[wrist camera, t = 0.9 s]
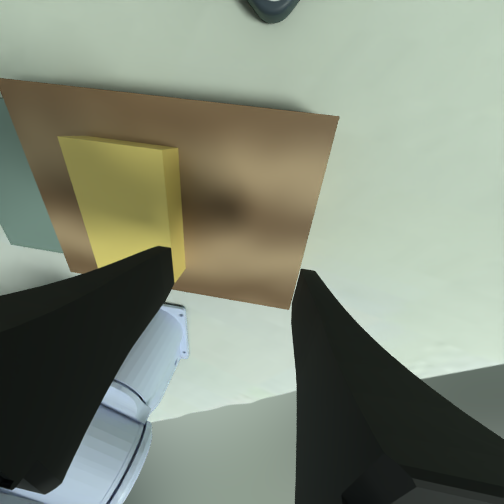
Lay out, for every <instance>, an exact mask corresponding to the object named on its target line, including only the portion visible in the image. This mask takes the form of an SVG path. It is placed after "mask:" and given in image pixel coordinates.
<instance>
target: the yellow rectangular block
mask: <svg viewBox="0 0 504 504" xmlns="http://www.w3.org/2000/svg"><path fill="white" fill-rule="evenodd" d="M57 137H58V140H59V144H60V147H61V150H62V153H63V156H64V160H65V163H66V166H67V169H68V173H69V176H70V179H71V182H72V186H73V189H74V192H75V195H76V199H77V202H78V205H79V208H80V211H81V215H82V218H83V221H84V224H85V228H86V231H87V234H88V237H89V241H90V244H91V247H92V250H93V253H94V257H95V260H96V263H97V266H98V268H100V267H103V266H106V265H109V264H111V263H114V262H117V261H119V260H122V259H124V258H127V257H129V256H132V255H134V254H137V253H139V252H142V251H144V250H147V249H150V248H153V247H156V246H163V247H170V248H171V251H172V262H173V272H174V282H176V281H177V280H178V278H179V277H180V276H181V274H182V273H183V272H184V270H185V269H186V266H185V250H184V234H183V218H182V202H181V186H180V170H179V154H178V148H177V147H169V146H161V145H154V144H146V143H138V142H130V141H123V140H115V139H107V138H99V137H91V136H57Z"/></svg>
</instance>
